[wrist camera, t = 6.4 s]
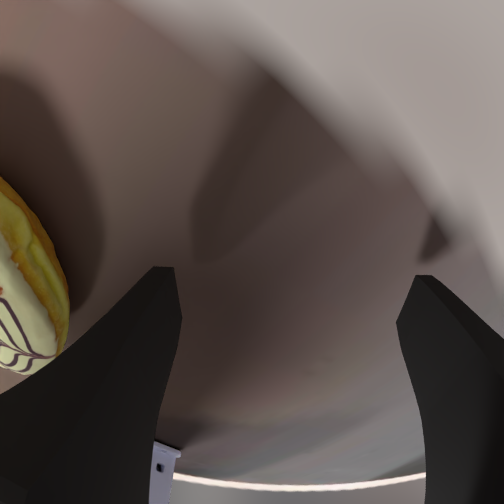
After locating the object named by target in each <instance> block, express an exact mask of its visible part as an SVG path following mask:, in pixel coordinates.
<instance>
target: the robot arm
mask: <svg viewBox="0 0 504 504" xmlns="http://www.w3.org/2000/svg"><path fill="white" fill-rule="evenodd" d="M181 321H182V315H181V309H180V303H179V298H178V292H177V286H176V280H175V273H174V267H157V266H153V267H152V268H151V269H150V270H149V271H148V272H147V273H146V274H145V275H144V276H143V277H142V278H141V279H140V280H139V281H138V282H137V283H136V284H135V285H134V286H133V287H132V288H131V289H130V290H129V291H128V292H127V293H126V294H125V295H124V296H123V297H122V298H121V299H120V300H119V301H118V302H117V303H116V304H115V305H114V306H113V307H112V308H111V309H110V310H109V311H108V312H107V313H106V314H105V315H104V316H103V317H102V318H101V319H100V320H99V321H98V322H97V323H96V324H95V325H94V326H92V327H91V328H90V329H89V330H88V331H87V332H86V333H85V334H84V335H83V336H82V337H81V338H79V339H78V340H77V341H76V342H75V343H74V344H72V345H71V346H70V347H69V348H67V349H66V350H65V351H64V352H62V353H61V354H60V355H59V356H57V357H56V358H55V359H54V360H52V361H51V362H50V363H48V364H47V365H45V366H44V367H42V368H41V369H39V370H38V371H37V372H35V373H34V374H32V375H31V376H29V377H28V378H26V379H25V380H24V381H22V382H20V383H19V384H17V385H16V386H14V387H12V388H11V389H9V390H7V391H6V392H4V393H2V394H0V504H169V499H170V492H171V485H172V479H173V472H174V466H175V460H176V458H177V457H180V456H181V452H180V451H179V450H176V449H174V448H171V447H168V446H166V445H163V444H161V443H158V442H156V441H154V439H155V432H156V425H157V419H158V415H159V410H160V407H161V403H162V399H163V396H164V392H165V389H166V385H167V382H168V378H169V375H170V371H171V368H172V364H173V361H174V357H175V354H176V350H177V346H178V340H179V334H180V328H181ZM396 325H397V330H398V336H399V341H400V346H401V350H402V354H403V357H404V360H405V363H406V366H407V370H408V373H409V376H410V379H411V382H412V386H413V389H414V392H415V396H416V399H417V403H418V406H419V410H420V415H421V420H422V427H423V435H424V443H425V457H426V494H425V504H504V339H503V338H502V337H501V336H500V335H499V334H497V333H496V332H495V331H494V330H493V329H492V328H491V327H490V326H489V325H487V324H486V323H485V322H484V321H483V320H482V319H481V318H480V317H479V316H478V315H477V314H476V313H474V312H473V311H472V310H471V309H470V308H469V307H468V306H467V305H466V304H465V303H464V302H463V301H462V300H460V299H459V298H458V297H457V296H456V295H455V294H454V293H453V292H452V291H451V290H449V289H448V288H447V287H446V286H445V285H444V284H442V283H441V282H440V281H439V280H437V279H436V278H435V277H433V276H432V275H415V278H414V281H413V283H412V286H411V288H410V291H409V293H408V295H407V298H406V300H405V303H404V305H403V307H402V310H401V312H400V314H399V316H398V319H397V321H396Z"/></svg>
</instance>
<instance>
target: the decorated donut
mask: <svg viewBox="0 0 504 504" xmlns="http://www.w3.org/2000/svg"><path fill="white" fill-rule="evenodd" d="M69 310H70V301H69V297H68V285H67V282H66V277H65V275H64V273H63V271H62V268H61V266H60V264H59V261H58V259H57V257H56V254H55V249H54V245H53V243H52V241H51V240H50V238H49V236H48V234H47V233H46V231H45V230H44V228H43V227H42V225H41V223H40V221H39V219H38V217H37V215H36V214H34V213H33V212H32V211H31V210H30V209H29V208H28V207H27V205H26V203H25V202H24V201H23V199H22V198H21V197H20V196H19V195H18V193H16V191H15V190H14V189H13V188H12V187H11V186H10V185H9V184H8V183H7V182H5V181H4V180H3V179H2V177H1V176H0V367H1V368H4V369H8V370H11V371H14V372H17V373H20V374H23V375H26V374H34V373H35V372H37V371H38V370H39V369H41V368H42V367H44V366H45V365H47V364H48V363H50V362H51V361H52V360H54V359H55V358H56V357H57V356H59V355H60V354H61V352H62V350H63V348H64V345H65V342H66V338H67V333H68V327H69Z"/></svg>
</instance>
